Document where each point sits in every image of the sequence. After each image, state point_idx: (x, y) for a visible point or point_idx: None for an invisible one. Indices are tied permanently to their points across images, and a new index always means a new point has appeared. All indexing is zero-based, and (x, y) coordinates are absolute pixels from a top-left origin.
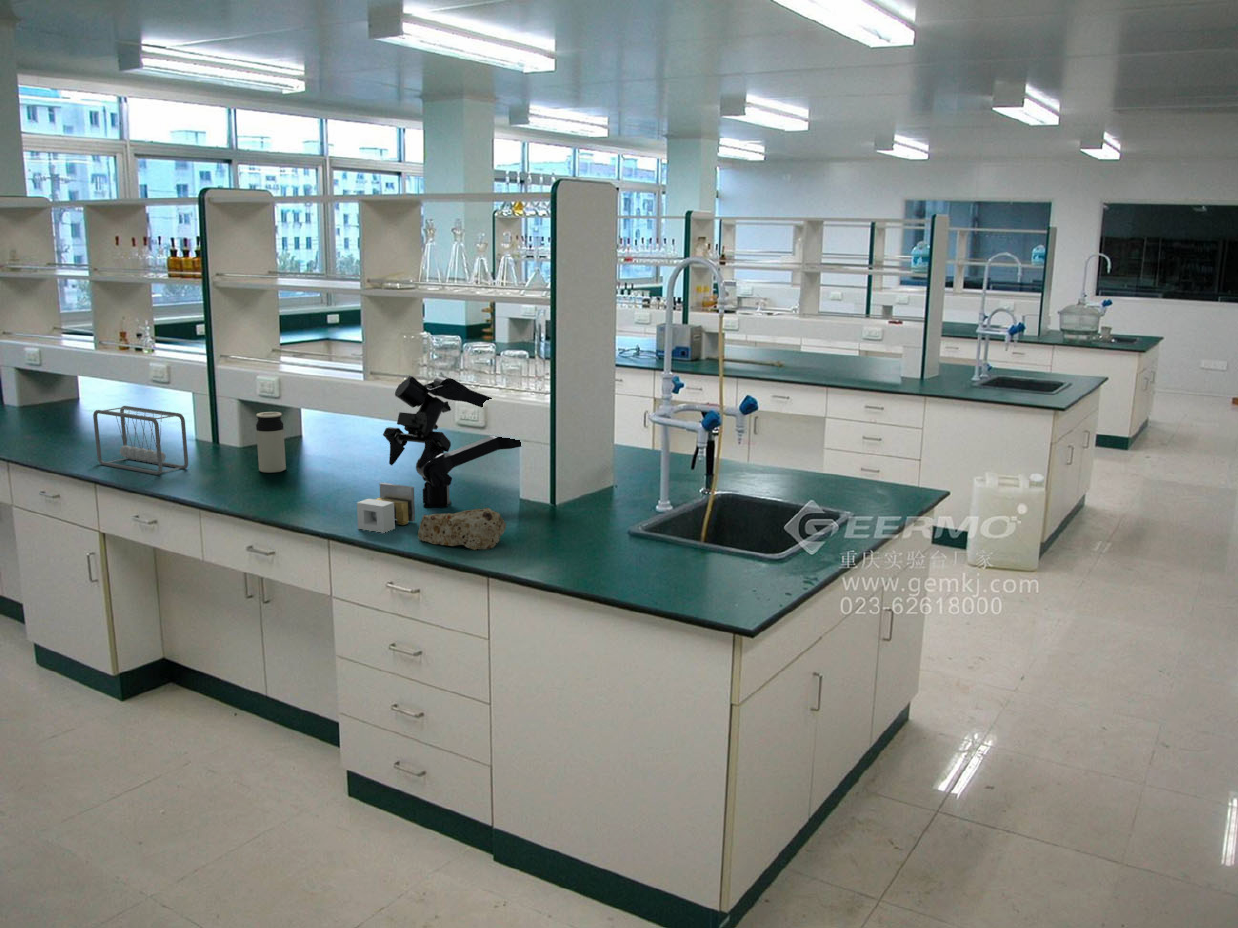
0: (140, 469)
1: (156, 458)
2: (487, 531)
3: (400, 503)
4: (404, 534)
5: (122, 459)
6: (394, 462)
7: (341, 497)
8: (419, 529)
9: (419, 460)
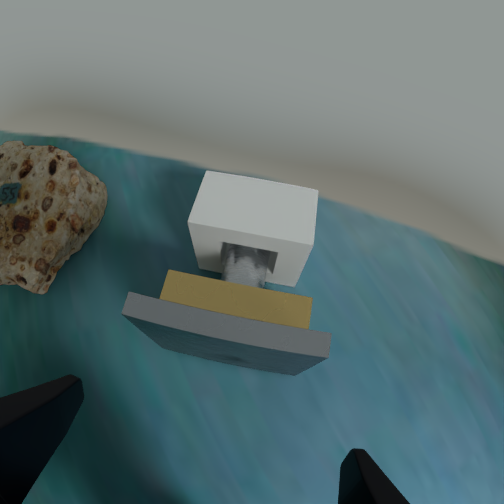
0: None
1: None
2: None
3: (180, 272)
4: (155, 231)
5: None
6: (339, 494)
7: (493, 487)
8: (97, 178)
9: (47, 396)
